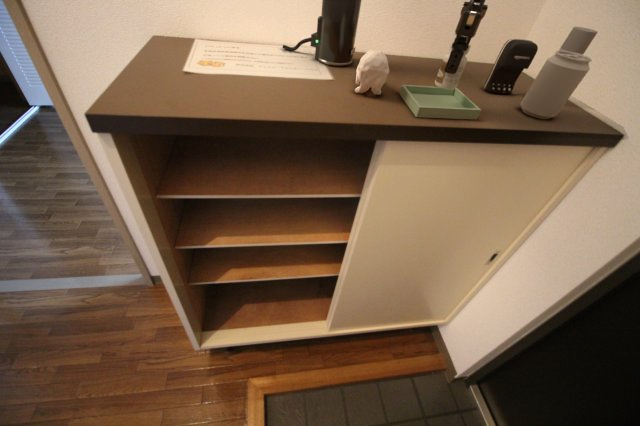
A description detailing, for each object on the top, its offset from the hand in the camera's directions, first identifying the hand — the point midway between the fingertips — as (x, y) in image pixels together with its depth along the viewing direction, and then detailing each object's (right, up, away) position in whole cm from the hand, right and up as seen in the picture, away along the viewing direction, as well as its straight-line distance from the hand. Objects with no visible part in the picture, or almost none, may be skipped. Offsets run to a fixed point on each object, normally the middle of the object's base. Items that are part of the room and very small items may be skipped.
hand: (451, 68), depth 56 cm
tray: (-1, -5, +5) cm, 8 cm away
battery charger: (+19, +2, +15) cm, 24 cm away
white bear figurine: (-15, 0, +9) cm, 18 cm away
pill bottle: (0, -2, +2) cm, 4 cm away
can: (+23, -6, +8) cm, 25 cm away
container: (+29, -1, +14) cm, 32 cm away
